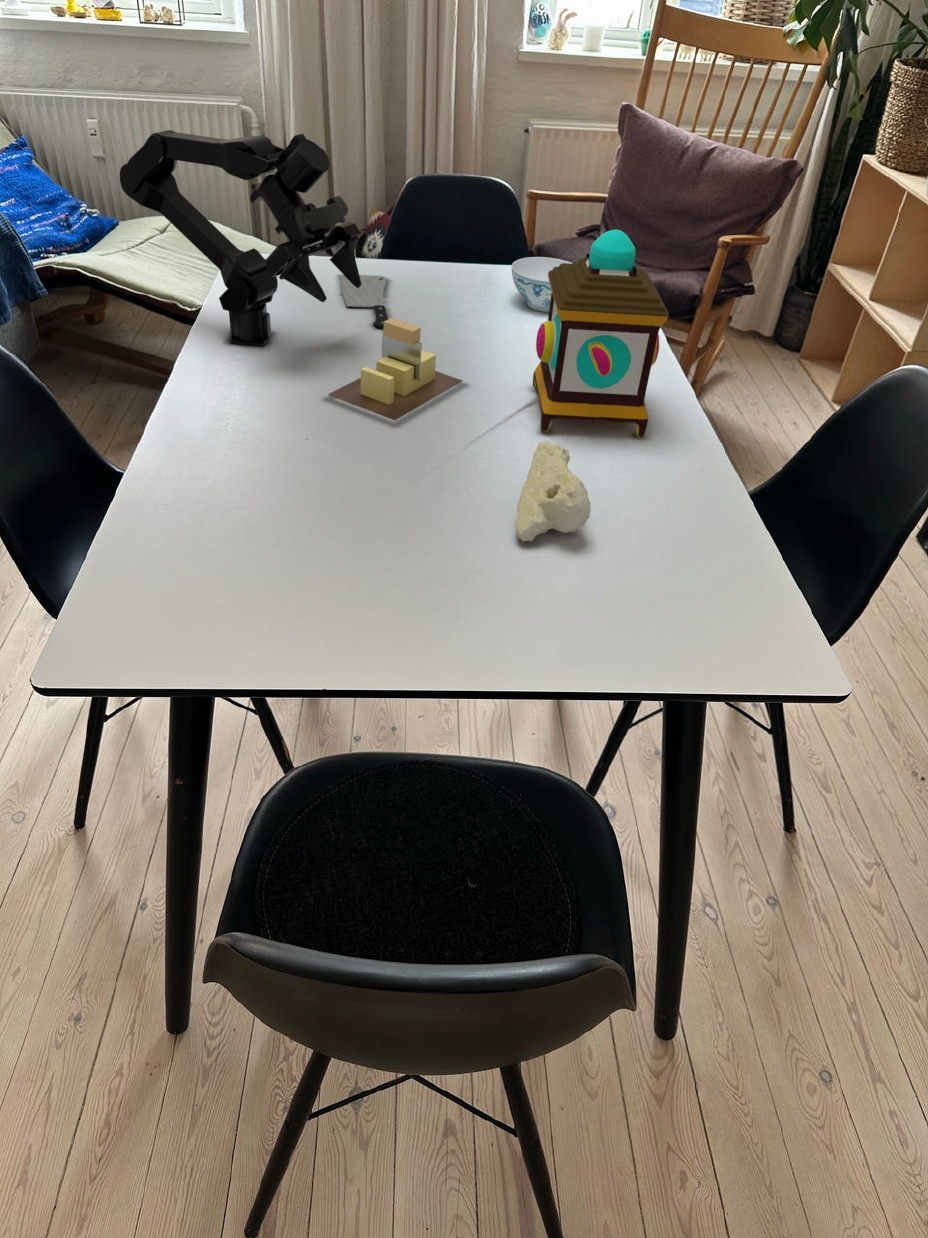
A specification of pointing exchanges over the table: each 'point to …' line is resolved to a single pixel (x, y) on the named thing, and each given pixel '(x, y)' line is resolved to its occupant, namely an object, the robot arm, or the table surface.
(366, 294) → the cleaver
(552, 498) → the cream rough rock
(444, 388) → the board
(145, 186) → the robot arm
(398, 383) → the butter block
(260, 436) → the table surface
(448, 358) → the table surface
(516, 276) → the chinaware
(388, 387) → the butter slice
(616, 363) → the decorative lantern
